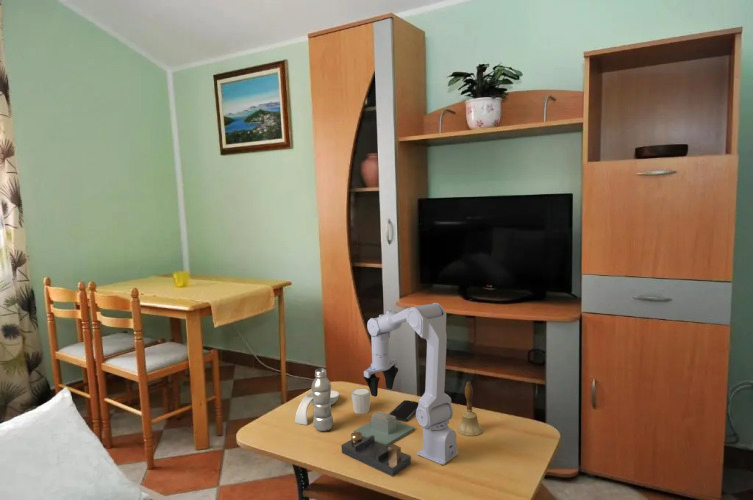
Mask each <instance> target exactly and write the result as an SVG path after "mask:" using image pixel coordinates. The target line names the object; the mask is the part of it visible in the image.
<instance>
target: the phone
mask: <svg viewBox="0 0 753 500" xmlns="http://www.w3.org/2000/svg"><path fill="white" fill-rule="evenodd" d="M418 404H419V401H412V400H407V399H405V400H403V401H402V402H400V404H398V405H397V406H396V407H395V408H393V409H392V411H390V413H389V414H390V415H393V416H396V421H398V422H401V423H403V422H404V423H408V422H409V421H410V420H411V419H412V418H413V417H414V416H416V410H417V408H418Z"/></svg>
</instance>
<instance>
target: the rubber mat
mask: <svg viewBox="0 0 753 500" xmlns="http://www.w3.org/2000/svg"><path fill="white" fill-rule="evenodd" d="M415 428H416V427H414V426H411V425H409V424H406V423H403V422H402V421H397V420H396V430H395V431H394V432H392V433H390V434H385V433H383V432H380V431H377V430H375V429H372V422H371V421H370V422H368V423H366V424H364V425H362V426H360V427H357V428H356V429H355V430H353V433H354V432H360V433H362V436H364V437H366V438H368V437H370V436H372V435H373V436H374V437H375V441H376V442H378V443H381V444H383V445H386V446H388V447H389V446H390V445H392V444H394V443H395V442H397V441H399V440H400V439H402V438H403V437H405V436H407V435H409V434H410V433H412V432H414V431H415Z"/></svg>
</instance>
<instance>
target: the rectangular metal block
mask: <svg viewBox="0 0 753 500" xmlns="http://www.w3.org/2000/svg"><path fill="white" fill-rule="evenodd" d="M370 417H371V419H370V420H371V421H370V422H372V429H375V430H377V431H380V432H383V433H385V434H390V433H392V432H394V431H395V430H396V421H397V419H396V416H393V415H390V413H386V412H384V411H381V410H378V411H377V412H374V413H372V414H371V416H370Z"/></svg>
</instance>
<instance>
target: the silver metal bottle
mask: <svg viewBox="0 0 753 500" xmlns="http://www.w3.org/2000/svg"><path fill="white" fill-rule="evenodd" d="M327 375H328V374H327V369H326V368H317V369H315V371H314V377H315V378H314V380H313V381H312V383H311V387H310V388H311V392H312V393H313V398H314V405H313V406H314V408H313V409H314V410H313V411H314V412H313V421H312V422H313V427H314V428H315V429H316V430H317V431H319V432H326V431H329V430H331V429H332V427H333V426H334V416H333V413H332V406H331V405H330V395H331V390H332V384H331V381H330V380H329V379H328V377H327Z"/></svg>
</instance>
